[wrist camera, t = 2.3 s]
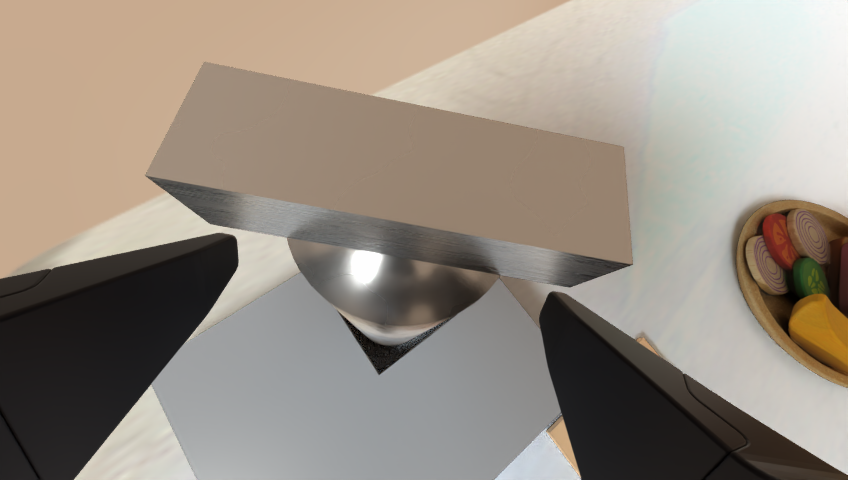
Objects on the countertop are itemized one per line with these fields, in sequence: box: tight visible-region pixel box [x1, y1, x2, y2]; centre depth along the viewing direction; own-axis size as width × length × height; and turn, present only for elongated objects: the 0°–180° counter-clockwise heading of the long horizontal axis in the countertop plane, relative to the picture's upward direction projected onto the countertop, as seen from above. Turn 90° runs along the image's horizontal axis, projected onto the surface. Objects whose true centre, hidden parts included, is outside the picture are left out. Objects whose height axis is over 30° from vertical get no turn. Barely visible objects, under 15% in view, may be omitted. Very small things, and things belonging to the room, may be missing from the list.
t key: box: [145, 62, 633, 346], centre depth 11 cm, size 4×6×15 cm, turn 81°
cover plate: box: [151, 272, 561, 480], centre depth 16 cm, size 16×13×2 cm
